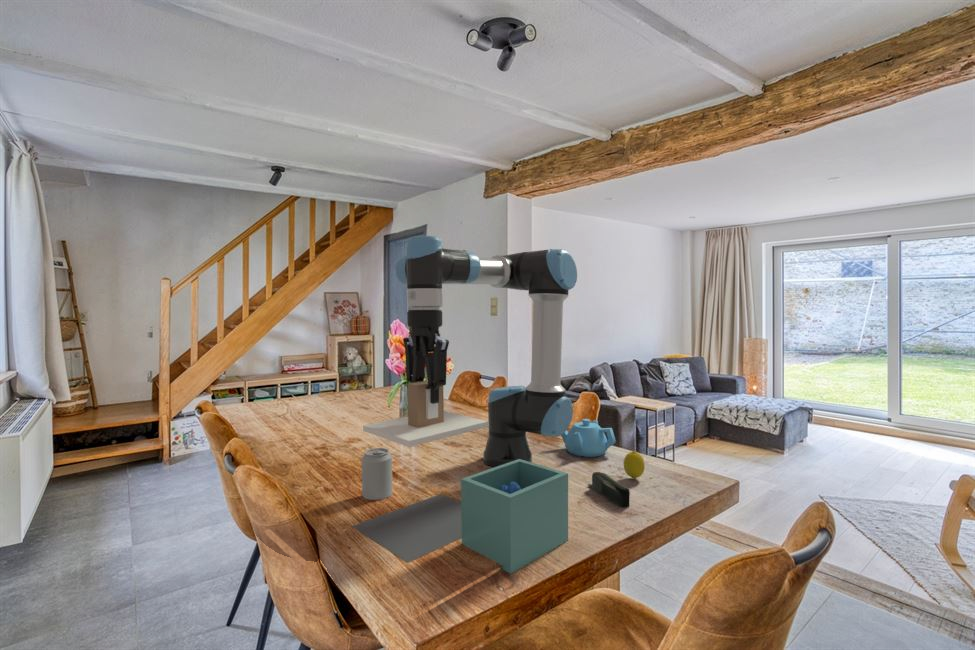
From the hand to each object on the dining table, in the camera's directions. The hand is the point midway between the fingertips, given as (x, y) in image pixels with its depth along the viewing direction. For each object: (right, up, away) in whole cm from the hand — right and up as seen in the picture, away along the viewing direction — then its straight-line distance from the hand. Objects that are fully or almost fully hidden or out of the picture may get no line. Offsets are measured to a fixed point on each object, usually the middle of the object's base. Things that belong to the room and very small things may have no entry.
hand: (426, 416), depth 105 cm
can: (-15, -24, +17) cm, 33 cm away
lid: (0, -3, 0) cm, 3 cm away
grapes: (+19, -25, -7) cm, 32 cm away
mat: (0, -24, +1) cm, 24 cm away
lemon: (+54, -23, +29) cm, 65 cm away
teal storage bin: (+19, -25, -7) cm, 32 cm away
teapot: (+46, -22, +54) cm, 74 cm away
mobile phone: (+44, -24, +17) cm, 53 cm away
